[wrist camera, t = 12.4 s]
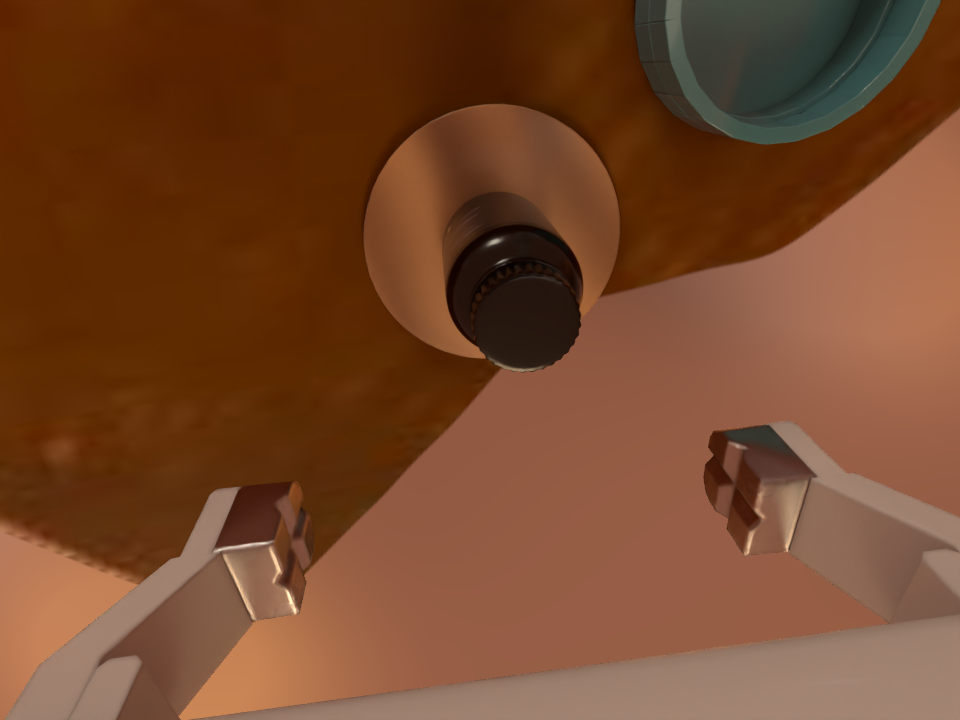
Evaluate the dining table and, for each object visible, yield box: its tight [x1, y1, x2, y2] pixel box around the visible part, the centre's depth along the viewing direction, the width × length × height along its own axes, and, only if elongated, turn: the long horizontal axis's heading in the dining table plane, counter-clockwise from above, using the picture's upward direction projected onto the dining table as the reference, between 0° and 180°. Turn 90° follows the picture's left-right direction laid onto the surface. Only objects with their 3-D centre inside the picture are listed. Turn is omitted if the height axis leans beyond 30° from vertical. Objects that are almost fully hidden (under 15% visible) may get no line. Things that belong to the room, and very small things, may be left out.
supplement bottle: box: [442, 192, 583, 372], centre depth 28 cm, size 7×7×12 cm
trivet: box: [363, 104, 620, 359], centre depth 34 cm, size 16×16×1 cm
